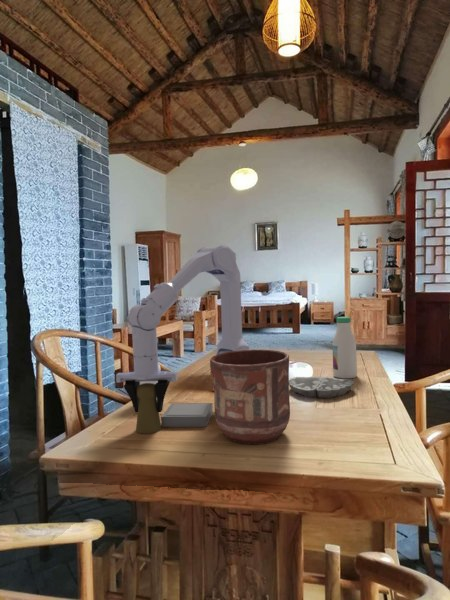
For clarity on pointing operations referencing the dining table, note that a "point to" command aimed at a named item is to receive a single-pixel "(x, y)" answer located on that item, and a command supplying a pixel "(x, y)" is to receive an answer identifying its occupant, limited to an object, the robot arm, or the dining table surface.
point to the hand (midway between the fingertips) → (148, 411)
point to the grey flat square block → (187, 415)
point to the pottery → (251, 394)
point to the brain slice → (320, 386)
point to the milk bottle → (344, 350)
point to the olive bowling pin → (147, 409)
